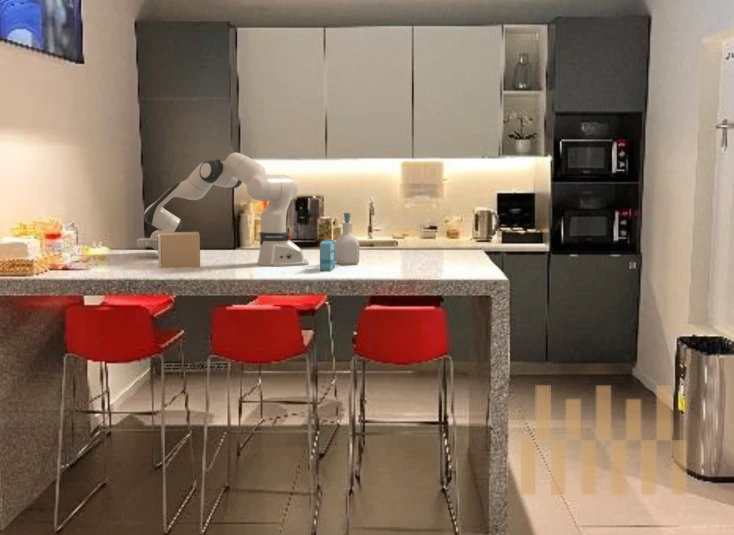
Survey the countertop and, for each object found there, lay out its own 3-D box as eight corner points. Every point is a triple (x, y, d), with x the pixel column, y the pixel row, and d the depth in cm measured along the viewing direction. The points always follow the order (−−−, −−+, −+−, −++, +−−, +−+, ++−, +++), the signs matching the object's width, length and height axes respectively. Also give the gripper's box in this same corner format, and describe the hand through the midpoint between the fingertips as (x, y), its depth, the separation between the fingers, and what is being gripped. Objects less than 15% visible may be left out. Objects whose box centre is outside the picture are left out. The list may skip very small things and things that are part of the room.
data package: (330, 271, 338) (330, 243, 337) (319, 271, 339) (319, 242, 337) (335, 267, 350) (335, 240, 348) (324, 267, 351) (324, 239, 349)
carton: (199, 263, 361) (198, 231, 359) (200, 266, 349) (199, 234, 347) (161, 264, 357) (160, 232, 355) (161, 267, 345) (160, 235, 343)
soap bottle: (340, 265, 357) (340, 213, 353) (333, 263, 365) (333, 212, 362) (360, 264, 360) (361, 213, 357) (353, 262, 369) (353, 211, 366)
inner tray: (195, 260, 365) (194, 232, 363) (197, 265, 348) (196, 235, 347) (158, 261, 361) (157, 232, 360) (158, 266, 345) (157, 236, 343)
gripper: (136, 234, 380) (135, 237, 367) (181, 234, 385) (181, 237, 372) (136, 248, 381) (135, 251, 368) (181, 247, 386) (182, 250, 373)
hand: (159, 244), depth 370 cm, fingers open, 8 cm apart
